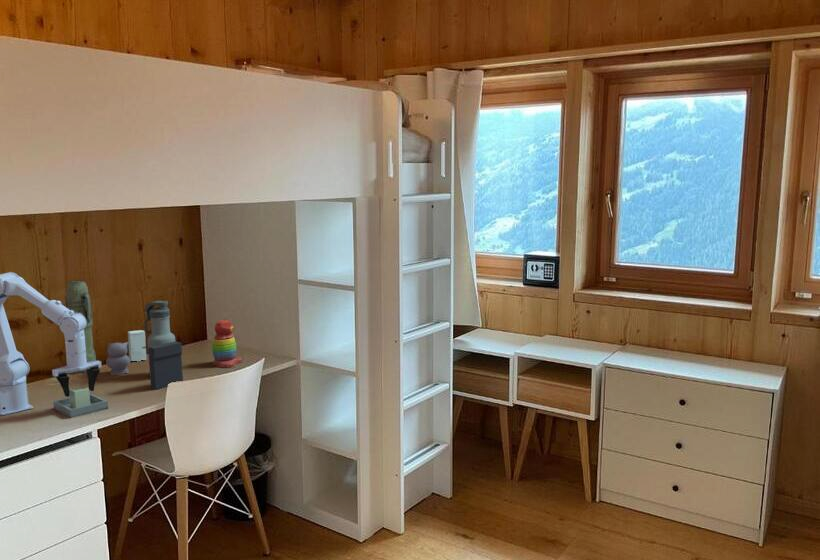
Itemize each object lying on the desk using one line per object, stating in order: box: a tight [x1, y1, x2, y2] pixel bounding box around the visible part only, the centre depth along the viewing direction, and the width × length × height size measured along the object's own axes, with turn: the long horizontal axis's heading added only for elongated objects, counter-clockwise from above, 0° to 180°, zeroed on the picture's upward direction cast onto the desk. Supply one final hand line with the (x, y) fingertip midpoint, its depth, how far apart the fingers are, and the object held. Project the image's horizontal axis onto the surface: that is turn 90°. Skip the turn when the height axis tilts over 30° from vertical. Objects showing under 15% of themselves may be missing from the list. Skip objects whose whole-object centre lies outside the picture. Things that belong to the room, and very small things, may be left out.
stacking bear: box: [211, 318, 243, 369], centre depth 273 cm, size 11×10×18 cm
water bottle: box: [143, 300, 176, 369], centre depth 258 cm, size 10×10×28 cm
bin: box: [52, 392, 109, 419], centre depth 222 cm, size 12×14×2 cm
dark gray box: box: [147, 340, 184, 390], centre depth 245 cm, size 11×4×15 cm, turn 141°
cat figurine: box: [105, 341, 131, 376], centre depth 262 cm, size 8×8×12 cm
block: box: [69, 385, 91, 409], centre depth 222 cm, size 4×4×6 cm
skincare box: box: [127, 329, 147, 362], centre depth 281 cm, size 6×4×12 cm
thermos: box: [64, 279, 97, 374], centre depth 265 cm, size 9×12×35 cm
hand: (79, 393), depth 222 cm, fingers open, 7 cm apart
